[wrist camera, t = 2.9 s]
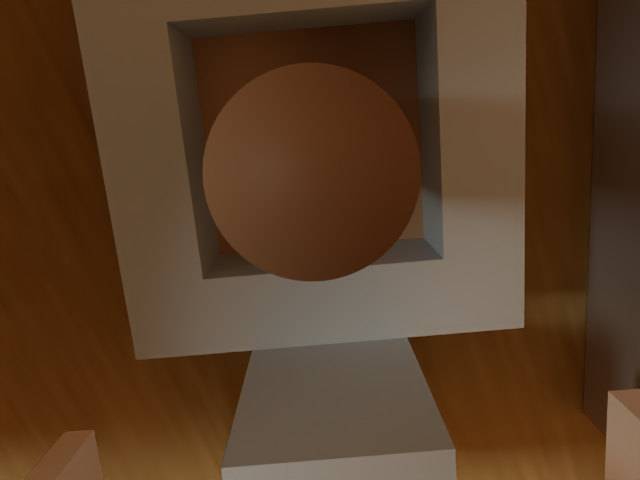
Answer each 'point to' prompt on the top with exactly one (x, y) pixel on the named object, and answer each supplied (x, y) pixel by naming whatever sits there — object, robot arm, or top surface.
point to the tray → (614, 212)
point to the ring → (319, 296)
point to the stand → (312, 145)
